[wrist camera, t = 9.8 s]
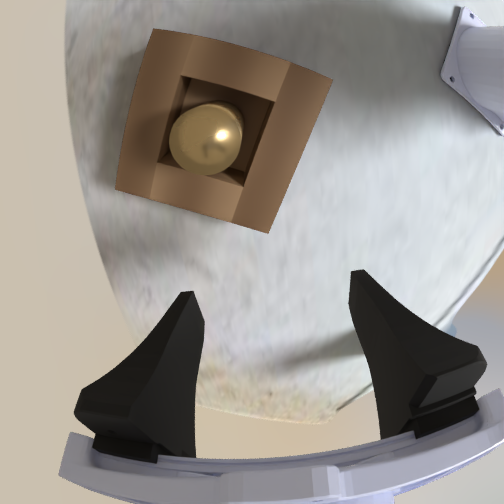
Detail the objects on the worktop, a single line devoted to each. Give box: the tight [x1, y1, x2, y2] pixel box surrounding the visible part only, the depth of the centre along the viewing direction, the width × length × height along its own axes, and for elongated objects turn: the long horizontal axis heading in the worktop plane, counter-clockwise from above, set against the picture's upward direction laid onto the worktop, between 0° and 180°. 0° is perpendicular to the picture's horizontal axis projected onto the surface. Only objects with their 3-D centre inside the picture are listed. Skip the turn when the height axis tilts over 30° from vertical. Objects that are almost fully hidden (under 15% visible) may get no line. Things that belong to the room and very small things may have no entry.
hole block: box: [115, 29, 333, 234], centre depth 16 cm, size 10×10×4 cm
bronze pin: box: [169, 100, 244, 175], centre depth 14 cm, size 3×3×6 cm
